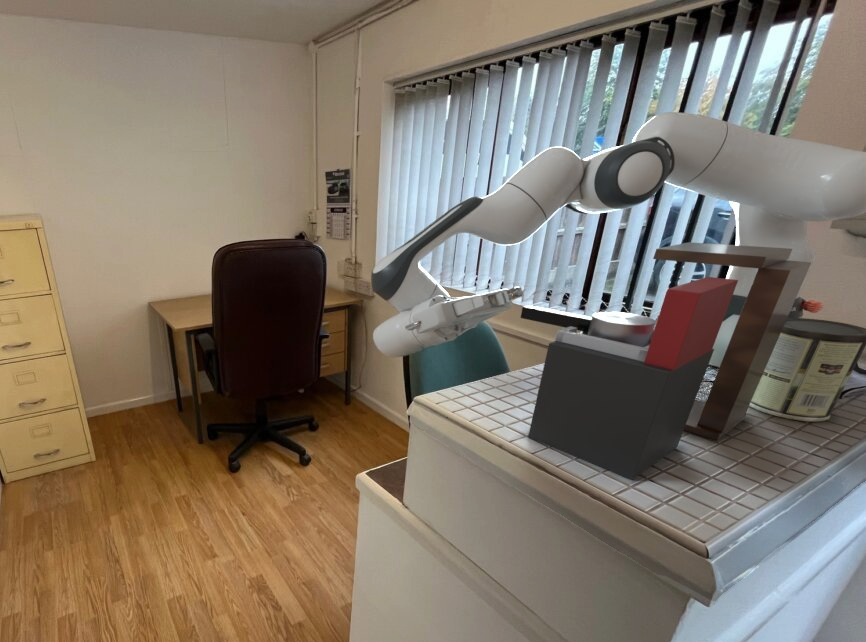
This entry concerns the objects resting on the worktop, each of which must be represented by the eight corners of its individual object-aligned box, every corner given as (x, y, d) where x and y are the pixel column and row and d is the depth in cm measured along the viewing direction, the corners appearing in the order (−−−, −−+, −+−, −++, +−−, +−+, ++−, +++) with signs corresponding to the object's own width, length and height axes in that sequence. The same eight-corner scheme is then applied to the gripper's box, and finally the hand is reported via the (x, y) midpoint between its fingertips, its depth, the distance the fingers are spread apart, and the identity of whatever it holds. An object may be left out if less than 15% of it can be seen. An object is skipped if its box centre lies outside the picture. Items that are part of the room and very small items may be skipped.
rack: (608, 406, 78) (655, 248, 68) (640, 389, 84) (688, 242, 74) (717, 440, 67) (793, 258, 57) (744, 418, 73) (818, 250, 63)
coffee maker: (527, 436, 70) (563, 277, 60) (575, 412, 77) (614, 265, 67) (632, 480, 59) (696, 294, 49) (676, 447, 66) (741, 279, 56)
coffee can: (773, 392, 82) (809, 315, 76) (847, 418, 72) (894, 332, 67) (724, 398, 80) (757, 319, 74) (794, 425, 71) (837, 338, 65)
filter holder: (509, 326, 71) (513, 303, 70) (534, 318, 75) (539, 297, 74) (633, 354, 58) (641, 328, 57) (657, 344, 62) (665, 319, 60)
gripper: (394, 313, 82) (456, 284, 70) (467, 297, 92) (531, 270, 80) (405, 346, 82) (468, 323, 70) (476, 327, 92) (542, 304, 80)
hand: (503, 294), depth 75 cm, fingers open, 8 cm apart
